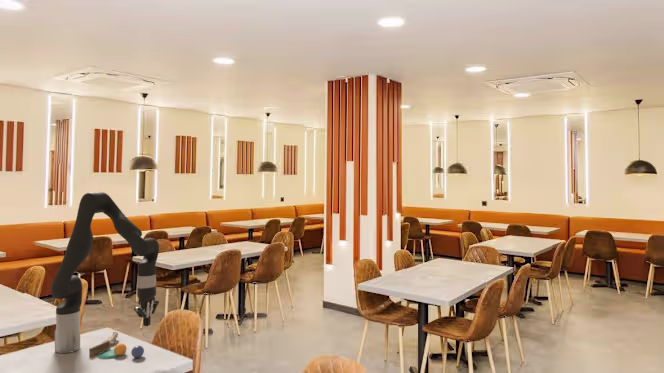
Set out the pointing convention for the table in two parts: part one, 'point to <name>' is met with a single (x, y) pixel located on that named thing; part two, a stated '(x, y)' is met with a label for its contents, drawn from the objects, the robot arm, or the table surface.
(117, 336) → the coral
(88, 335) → the table surface
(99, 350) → the rail
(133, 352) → the blue ball
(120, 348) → the orange ball
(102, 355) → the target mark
